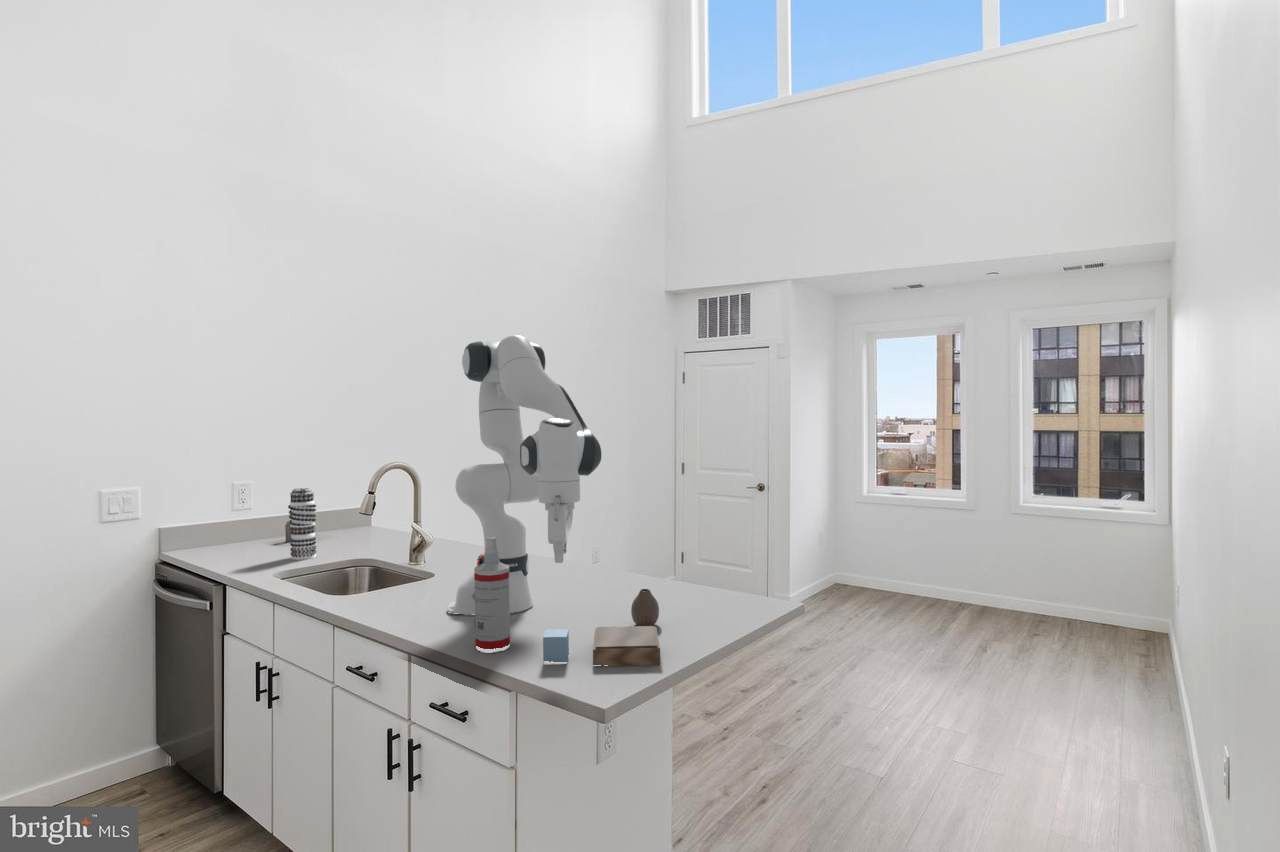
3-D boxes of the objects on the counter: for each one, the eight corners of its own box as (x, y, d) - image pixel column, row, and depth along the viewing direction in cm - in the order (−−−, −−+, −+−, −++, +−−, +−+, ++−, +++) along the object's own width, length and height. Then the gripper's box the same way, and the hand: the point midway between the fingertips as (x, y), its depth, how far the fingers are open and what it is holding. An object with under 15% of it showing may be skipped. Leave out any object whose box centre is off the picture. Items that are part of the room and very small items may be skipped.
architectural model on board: (290, 543, 283) (289, 519, 283) (285, 543, 285) (285, 519, 284) (315, 539, 293) (315, 515, 293) (311, 538, 294) (310, 515, 294)
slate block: (543, 665, 147) (542, 637, 147) (545, 656, 152) (545, 629, 152) (567, 665, 148) (566, 636, 147) (568, 656, 153) (568, 629, 152)
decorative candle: (303, 560, 250) (301, 490, 249) (283, 559, 253) (281, 489, 252) (323, 555, 258) (321, 487, 257) (303, 553, 261) (302, 487, 261)
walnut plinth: (593, 666, 146) (592, 647, 146) (595, 643, 160) (595, 626, 160) (660, 665, 147) (660, 646, 147) (656, 642, 161) (656, 625, 161)
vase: (639, 631, 169) (639, 595, 169) (626, 623, 175) (626, 588, 175) (664, 626, 172) (664, 591, 172) (650, 619, 178) (650, 585, 178)
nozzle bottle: (478, 655, 154) (476, 541, 153) (472, 644, 160) (470, 536, 160) (514, 650, 157) (512, 538, 156) (506, 639, 163) (505, 533, 163)
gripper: (571, 498, 141) (572, 567, 141) (576, 488, 161) (577, 548, 162) (539, 499, 141) (541, 568, 141) (549, 489, 161) (550, 549, 161)
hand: (560, 557), depth 151 cm, fingers open, 8 cm apart
